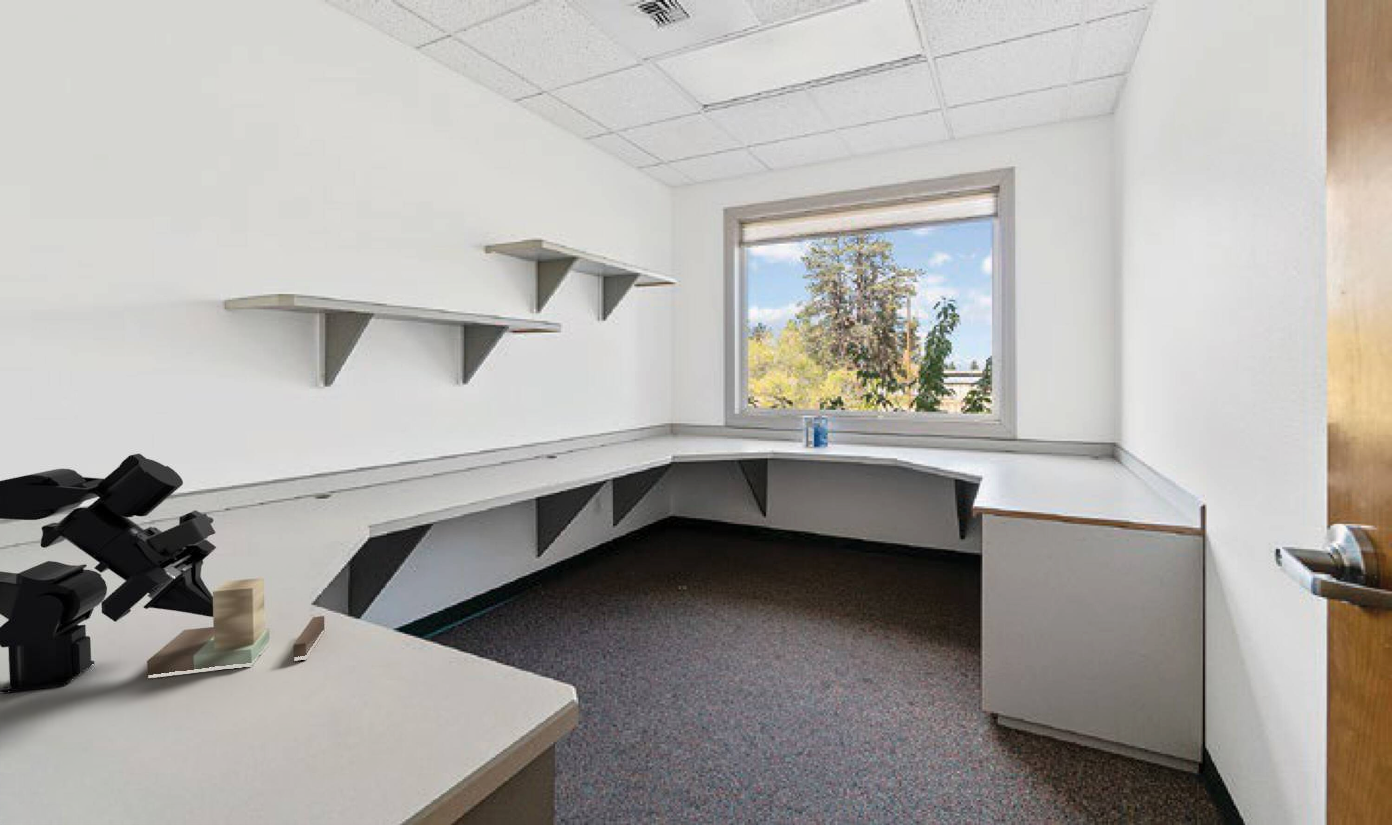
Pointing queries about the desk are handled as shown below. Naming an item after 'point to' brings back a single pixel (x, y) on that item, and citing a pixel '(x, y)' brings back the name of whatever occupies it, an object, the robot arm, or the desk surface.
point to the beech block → (238, 613)
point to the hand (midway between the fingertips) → (217, 613)
